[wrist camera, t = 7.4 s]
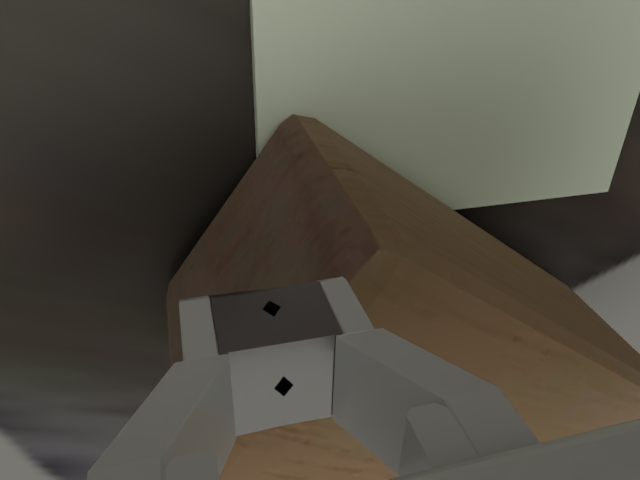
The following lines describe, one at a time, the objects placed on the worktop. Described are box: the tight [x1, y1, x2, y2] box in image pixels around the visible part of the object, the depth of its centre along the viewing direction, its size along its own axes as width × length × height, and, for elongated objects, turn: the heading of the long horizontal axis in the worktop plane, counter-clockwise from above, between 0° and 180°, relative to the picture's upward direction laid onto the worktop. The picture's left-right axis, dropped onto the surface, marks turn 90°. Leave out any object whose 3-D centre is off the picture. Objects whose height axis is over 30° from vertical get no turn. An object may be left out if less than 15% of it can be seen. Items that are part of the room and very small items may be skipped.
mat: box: [249, 0, 640, 210], centre depth 23 cm, size 18×12×1 cm, turn 89°
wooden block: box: [166, 114, 640, 480], centre depth 23 cm, size 10×10×20 cm
